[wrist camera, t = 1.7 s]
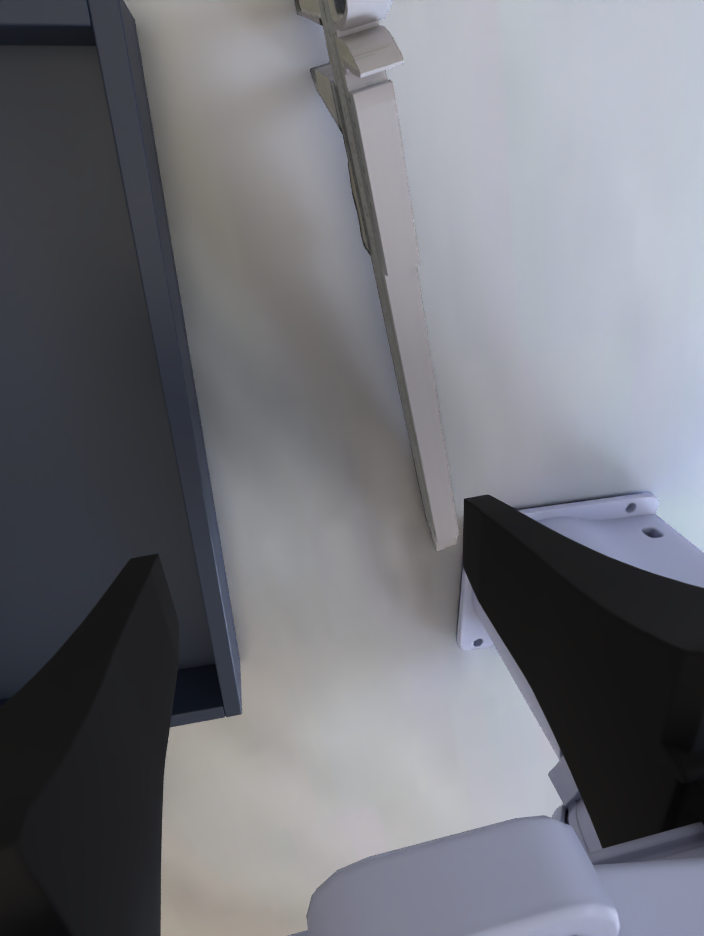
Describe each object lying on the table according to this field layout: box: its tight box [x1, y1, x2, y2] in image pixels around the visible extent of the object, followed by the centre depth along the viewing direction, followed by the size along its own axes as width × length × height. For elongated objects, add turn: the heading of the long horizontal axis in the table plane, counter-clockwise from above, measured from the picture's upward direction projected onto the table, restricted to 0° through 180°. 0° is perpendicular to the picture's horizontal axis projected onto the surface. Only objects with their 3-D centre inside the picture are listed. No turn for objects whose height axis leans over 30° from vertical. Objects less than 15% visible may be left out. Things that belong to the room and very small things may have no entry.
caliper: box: [295, 0, 459, 552], centre depth 18 cm, size 20×1×6 cm, turn 16°
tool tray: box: [0, 0, 242, 727], centre depth 19 cm, size 11×24×3 cm, turn 1°
